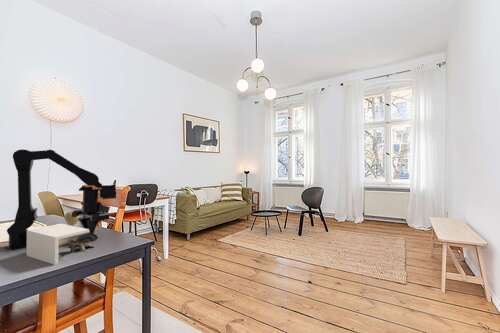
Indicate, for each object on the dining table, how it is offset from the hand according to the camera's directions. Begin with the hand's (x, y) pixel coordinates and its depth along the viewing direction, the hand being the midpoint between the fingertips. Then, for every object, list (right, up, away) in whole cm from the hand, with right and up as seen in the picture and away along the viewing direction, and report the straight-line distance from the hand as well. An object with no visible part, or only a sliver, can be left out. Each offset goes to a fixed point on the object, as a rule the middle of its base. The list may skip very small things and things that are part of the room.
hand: (90, 233), depth 114 cm
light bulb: (-16, -2, +10) cm, 19 cm away
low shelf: (+2, -2, -21) cm, 22 cm away
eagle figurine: (+7, -3, -16) cm, 18 cm away
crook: (0, -2, -10) cm, 10 cm away
